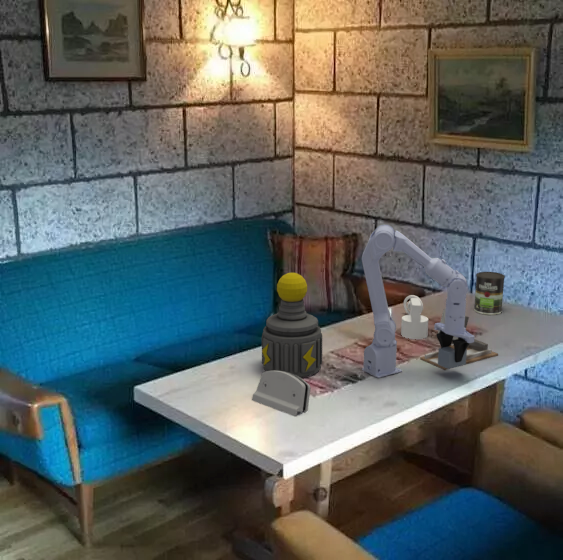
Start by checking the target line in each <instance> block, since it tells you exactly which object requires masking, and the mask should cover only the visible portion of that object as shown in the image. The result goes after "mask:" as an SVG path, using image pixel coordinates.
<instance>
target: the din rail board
mask: <svg viewBox="0 0 563 560" xmlns="http://www.w3.org/2000/svg"><path fill="white" fill-rule="evenodd" d="M488 347H489V344H488V343H486V342H483V341H481V340H478V339H475V338H474V342H473V343H470V344H469V345H468V347H467V355H466V365H468V364H473V363H475V362H479V361H482V360H487V359H490V358H494V357H497V356H499V353H497V352H496V351H495V352H494V351H493V349H491V348H488ZM438 353H439V350H438V351H435V352H430V353H427V354H424V356H421V357H420V359H419V360H421V361H423V362H426V363H428V364H431V365H433V366H435V367H437V368H440V369H442V370H444V371H447V370H448V369H447V368H445V367H442V366H440V365H438Z"/></svg>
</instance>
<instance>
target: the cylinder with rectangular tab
mask: <svg viewBox="0 0 563 560" xmlns="http://www.w3.org/2000/svg"><path fill="white" fill-rule="evenodd" d="M419 298H420V297H419ZM419 298H410V299H409V301H410V310H409V311H410V315H409V314H406V315H403V316H401V327H400V328H401V329H400V335H402V336H401V337H403V338H404V337H405V338H404V339H408V338H409V339H408V340H415V339H416V340H423V338H424V339H427V338H428V334H429V318H428V317H427V316H426V315H421V314H422V313H421V303H420V299H421V298H420V299H419Z"/></svg>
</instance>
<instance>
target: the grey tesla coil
mask: <svg viewBox="0 0 563 560" xmlns="http://www.w3.org/2000/svg"><path fill="white" fill-rule="evenodd" d="M276 292H277V294H278V297H279V298H280V299H281V300H280V305H279V308H278V309H279V310H278V312H277V313H275V314H273V315H270V316H269V317H268V318H267V319H266V321H265V322H266V323H265V324H266V325H265V326H264V327H263V329H262V335H261V363H262V366H263V369H264V370H265V372H266V371H284V372H288V373H291V374H294V375H296V376H298V377H300V378H301V379H303V378H307V377H310V376H313V375H315V374H316V373H318V372H320V369H321V366H322V364H323V333H322V329H321V327H320V326H319V320H318V318H317V317H315V316H314V315H312V314H310V313H307V311H306V307H305V306H306V305H304V303H305V302H304V298H305V297H306V296H307V292H308V284H307V280H306V279H305V278H304V277H303V275H301V274H300V273H298V272H287V273H285V274H283V275H282V276H281V277H280V278H279V280H278V282H277V284H276Z"/></svg>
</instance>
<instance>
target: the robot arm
mask: <svg viewBox="0 0 563 560" xmlns="http://www.w3.org/2000/svg"><path fill="white" fill-rule="evenodd" d="M390 250H392V252H394V253H395V252H396V253H397V252H398V253H399V252H401V253H402V252H403V253H404V254H406V255H407V256H408V257H410V258H411V259H413V260H414V261H416V262H417V263H418V264H420V265H421V266H423V267H424V270H425V274H426V275H427V276H429V278H431V279H432V280H433V281H434V282H436V283H438V284H439V285H440V286H441V287H443V288H446V291H447V294H446V295H447V296H446V300H445V308H446V310H445V324H443V323H440V322H436V323H434V328H433V329H434V331H438V330H439V331H440V332H439V333H438V332H437V333H436V335H435V337H436V338H437V341H438V342H439V345H440V348H443V347H448V346H451V345H454V349H455V362H461V361H462V358H463V355H464V353H465V351H466V349H467V347H468V345H469V344H470V343H473V342H474V339H475V338H476V337H475V335H473V334H472V333H470V332H469V331H468V330H467V327H466V328H464V324H465V316H466V309H467V294H468V292H469V286H468V283H467V278H466V277H465V276H464V275H463V273H461V272H459V271H458V270H457V269H455V270H454V269H453V268H452V267H450V265H448V264H447V263H446V262H447V261H446V260H445V259H444V258H441V259H440V258H439V257H433V258H432V257H431V256H430V255H429V254H427V253H426V252H425V251H423V250H422V249H421V248H420V247H419V246H417V245H416V244H415V243H414V242H413V241H412V240H410V239H409V238H408V237H407V236H406V235H405V234H403V233H402V232H400V231H399V230H397V229H394V228H393V226H392V225H389V224H380V225H378V226H377V227H376V228H375V229H374V231H372V233H371V234H370V236H369V239H368V241H367V243H366V245H365V248H364V249H363V252H362V256H361V262H362V266H363V273H364V277H365V280H366V281H365V283H366V286H367V291H368V295H369V296H368V297H369V300H370V305H371V310H372V314H373V323H374V325H373V326H374V332H373V339H372V343H371V344H370V345H367V346H366V347H365V348H364V350H363V367H362V368H361V370H362V371H363V372H365V373H367V374H369V375H371V376H373V377H375V378H378V379H380V378H383V377H386V376H391V375H394V374H398V373H402V372H403V370H402V369H400V368H399V367H397V350H398V349H397V344H398V343H397V342H398V341H397V340H396V329H397V324H396V322H395V321H394V320H393V317H392V316H391V312H390V310H389V305H388V301H387V295H386V291H385V285H384V281H383V277H382V276H383V275H382V272H381V266H380V262H379V261H380V259H381V258H382V257H383V255H385V253H388V252H389V251H390ZM453 336H455V337H457V338H458V339H456V340H453Z"/></svg>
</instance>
